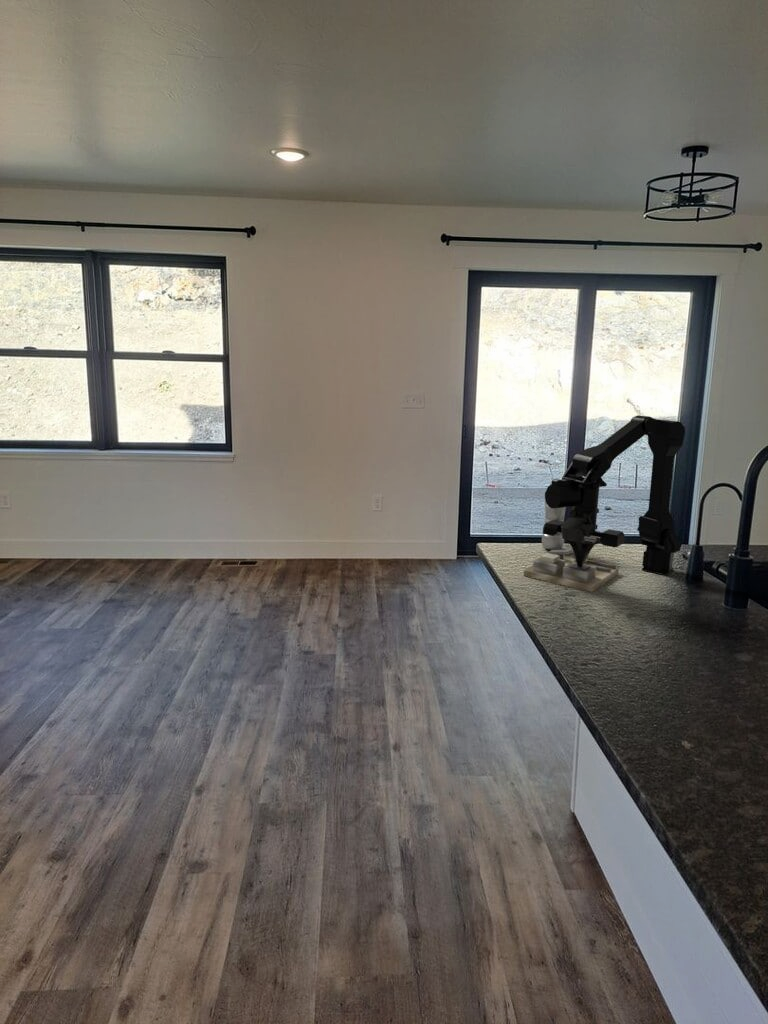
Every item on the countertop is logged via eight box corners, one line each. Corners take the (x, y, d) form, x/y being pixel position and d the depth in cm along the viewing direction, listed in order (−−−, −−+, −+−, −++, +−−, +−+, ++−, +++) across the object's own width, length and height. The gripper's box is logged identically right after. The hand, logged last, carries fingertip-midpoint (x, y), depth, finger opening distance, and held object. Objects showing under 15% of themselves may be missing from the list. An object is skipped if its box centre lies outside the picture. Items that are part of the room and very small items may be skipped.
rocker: (572, 552, 173) (572, 549, 173) (568, 554, 171) (567, 551, 171) (552, 552, 177) (552, 549, 176) (548, 554, 174) (548, 552, 174)
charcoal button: (589, 573, 160) (589, 566, 159) (583, 577, 157) (584, 569, 157) (575, 570, 162) (575, 563, 161) (569, 574, 159) (569, 566, 159)
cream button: (559, 563, 164) (559, 555, 164) (553, 566, 162) (553, 558, 161) (546, 560, 167) (546, 552, 166) (539, 563, 164) (540, 555, 163)
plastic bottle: (540, 551, 187) (545, 483, 182) (541, 545, 193) (546, 479, 189) (563, 553, 185) (568, 485, 181) (563, 547, 191) (569, 481, 187)
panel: (618, 573, 168) (619, 558, 167) (591, 592, 154) (593, 575, 153) (553, 560, 179) (554, 545, 178) (523, 575, 165) (524, 560, 164)
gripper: (534, 504, 155) (530, 566, 159) (611, 516, 144) (605, 583, 147) (554, 497, 164) (550, 556, 167) (628, 508, 152) (622, 571, 156)
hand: (580, 566), depth 159 cm, fingers closed, pressing on charcoal button
